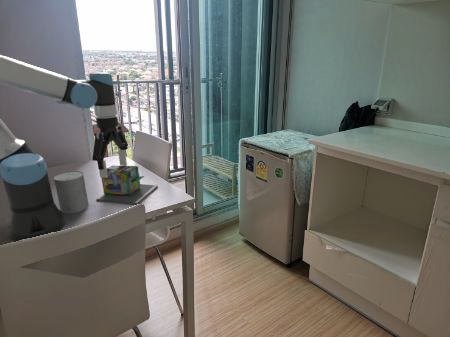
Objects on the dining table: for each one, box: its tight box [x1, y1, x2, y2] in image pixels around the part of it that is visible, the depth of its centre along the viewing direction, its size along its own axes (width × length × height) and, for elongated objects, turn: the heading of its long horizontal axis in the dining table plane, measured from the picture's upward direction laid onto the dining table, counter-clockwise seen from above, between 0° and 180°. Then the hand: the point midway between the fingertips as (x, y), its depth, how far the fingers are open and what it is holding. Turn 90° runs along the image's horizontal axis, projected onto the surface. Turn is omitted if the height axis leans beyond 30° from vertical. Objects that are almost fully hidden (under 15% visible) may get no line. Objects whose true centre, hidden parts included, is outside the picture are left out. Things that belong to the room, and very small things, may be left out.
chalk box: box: [100, 165, 145, 195], centre depth 127 cm, size 9×9×15 cm
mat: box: [95, 183, 159, 206], centre depth 128 cm, size 17×17×1 cm
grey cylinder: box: [53, 170, 90, 214], centre depth 115 cm, size 10×10×12 cm
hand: (114, 171), depth 126 cm, fingers open, 13 cm apart
